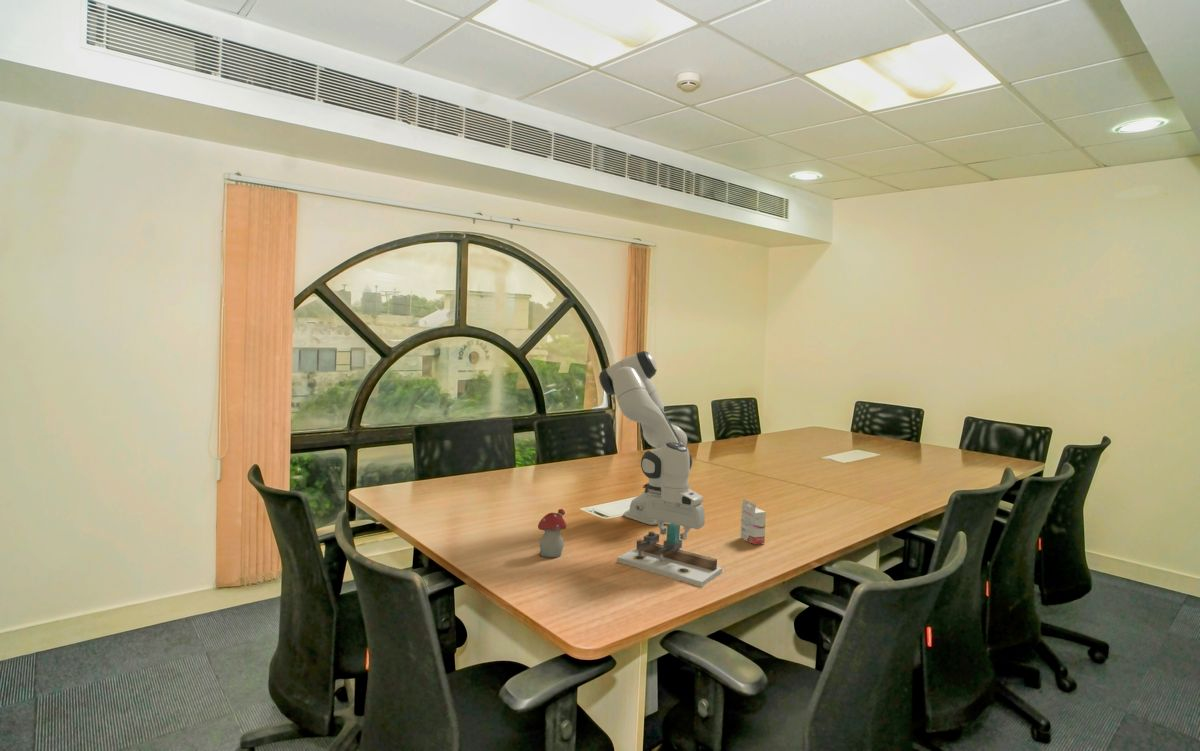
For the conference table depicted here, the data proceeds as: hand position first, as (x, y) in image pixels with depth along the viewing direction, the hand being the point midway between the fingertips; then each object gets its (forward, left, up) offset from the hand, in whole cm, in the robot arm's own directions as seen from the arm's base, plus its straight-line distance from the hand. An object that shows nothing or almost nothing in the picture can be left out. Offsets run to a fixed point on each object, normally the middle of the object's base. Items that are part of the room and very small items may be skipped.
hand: (673, 536), depth 191 cm
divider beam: (+1, -3, -7) cm, 8 cm away
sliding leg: (0, -2, -6) cm, 7 cm away
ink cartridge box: (+12, +38, -9) cm, 41 cm away
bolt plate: (+1, -4, -9) cm, 10 cm away
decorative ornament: (-34, -20, -9) cm, 40 cm away
